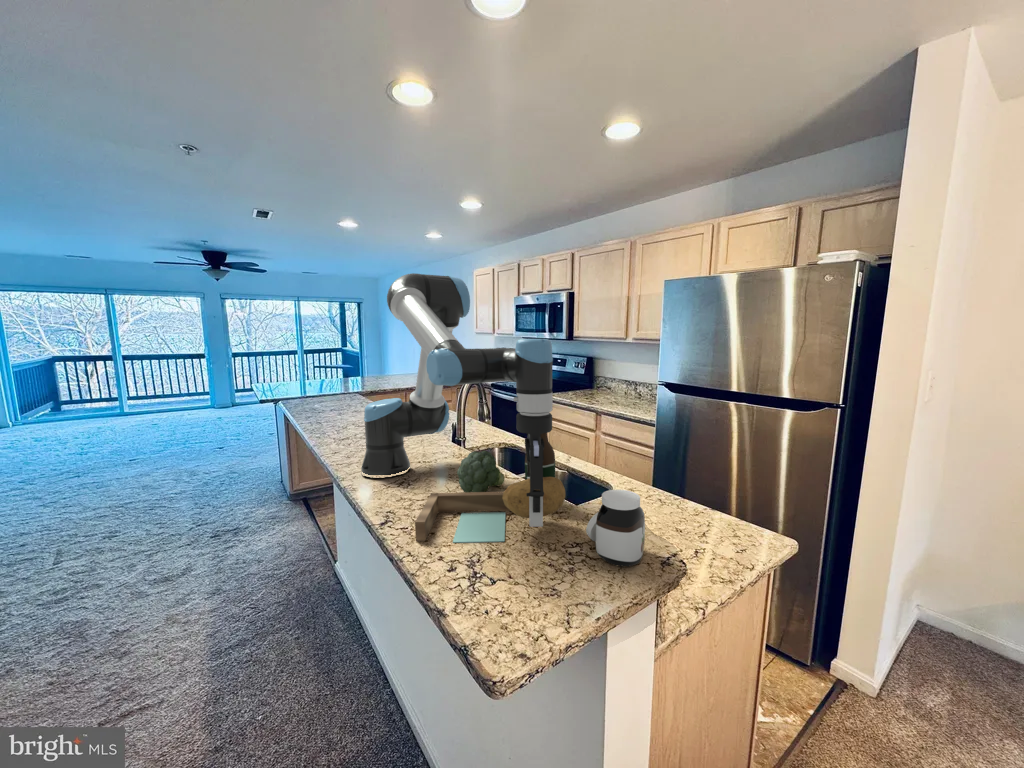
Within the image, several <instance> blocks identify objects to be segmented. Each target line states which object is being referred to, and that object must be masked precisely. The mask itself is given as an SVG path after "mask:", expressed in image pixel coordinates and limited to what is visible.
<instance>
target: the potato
mask: <svg viewBox="0 0 1024 768" xmlns="http://www.w3.org/2000/svg"><path fill="white" fill-rule="evenodd" d="M503 492H504V493H503V497H502V499H503V501H504V504H505V506H506V507H507V508H508V509H510V510H511V513H513V514H514V515H515V516H517V517H519V518H522V519H529V496H526V493H529V492H530V479H526V480H525V479H523V480H520V481H516V482H513V483H510V485H508V486H507V487H506V489H505V490H504V491H503ZM543 492H544V496H543V517H547V516H549V515H552V514H554V513H556V512H558V511H559V510H560V508H562V507H563V505H564V502H565V499H566V489H565V487H564V484H563V482H562V481H561V479H559V478H557V477H556V476H555V477H543Z"/></svg>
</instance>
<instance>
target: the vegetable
mask: <svg viewBox="0 0 1024 768" xmlns="http://www.w3.org/2000/svg"><path fill="white" fill-rule="evenodd" d="M456 474H457V477H458V483H459V487H460V489H461V490H462V491H463V493H464V492H488V490H489V487H493V486H494V487H496V486H497V485H500V486H502V485H503V484H504V482H505V476H504V474H503V473H502V472H501V470H500V468H498V467H497V464H496V461H495V457H494V456H493V455H492V453H491V452H490V451H487V450H482V451H476V450H475V451H471V452H469V453H468V455H467V456H466V457H464V458H462V459H461V461H460V465H459V467H458V469H457V472H456ZM497 487H498V486H497Z"/></svg>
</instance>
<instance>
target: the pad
mask: <svg viewBox="0 0 1024 768" xmlns="http://www.w3.org/2000/svg"><path fill="white" fill-rule="evenodd" d="M506 512H507V511H480V512H461V514H460V515H459V519H458V524H457V526H456V529H455V532H454V536H453V539H452V543H453V544H466V543H467V544H468V543H473V544H474V543H504V542H505V538H506V537H505V535H506V514H507V513H506Z"/></svg>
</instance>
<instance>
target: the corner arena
mask: <svg viewBox="0 0 1024 768" xmlns="http://www.w3.org/2000/svg"><path fill="white" fill-rule="evenodd" d="M503 493H504V491H486V492H464V491H463V492H431V493H430V494H429V496H428V498H427V499H426V501H425V503H424V505H423V507H422V509H421V510H420V512H419V513H418V516H417V518H416V519H415V521H414V528H415V530H414V532H415V541H417V542H422V541H423V542H424V541H427V538H428V536H429V534H430V531H431V529H432V527H433V526H434V522H435V520H436V518H437V516H438V514H439V513H453V512H454V513H459V512H461V513H468V512H508V511H511V510H510V509H508V508H507V507H506V506H505V504H504V501H503V499H502V497H503ZM511 512H512V511H511Z"/></svg>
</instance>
